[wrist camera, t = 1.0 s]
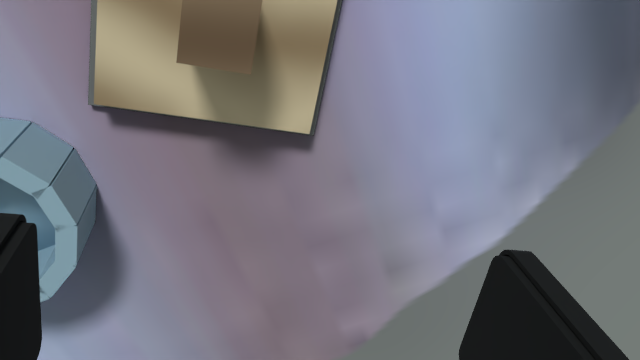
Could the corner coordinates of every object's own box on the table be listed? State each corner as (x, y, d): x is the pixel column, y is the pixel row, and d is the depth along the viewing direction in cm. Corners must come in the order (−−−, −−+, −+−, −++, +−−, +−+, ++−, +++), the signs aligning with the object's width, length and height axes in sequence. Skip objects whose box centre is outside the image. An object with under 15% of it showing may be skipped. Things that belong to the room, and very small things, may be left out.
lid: (108, -146, 23) (72, -165, 18) (350, -88, 26) (384, -89, 20) (98, 96, 28) (67, 141, 22) (306, 126, 30) (324, 173, 25)
